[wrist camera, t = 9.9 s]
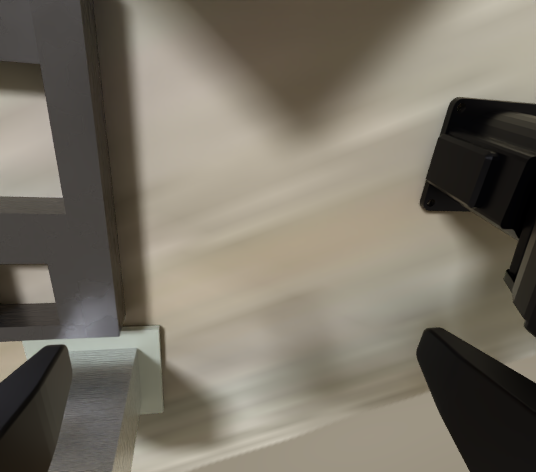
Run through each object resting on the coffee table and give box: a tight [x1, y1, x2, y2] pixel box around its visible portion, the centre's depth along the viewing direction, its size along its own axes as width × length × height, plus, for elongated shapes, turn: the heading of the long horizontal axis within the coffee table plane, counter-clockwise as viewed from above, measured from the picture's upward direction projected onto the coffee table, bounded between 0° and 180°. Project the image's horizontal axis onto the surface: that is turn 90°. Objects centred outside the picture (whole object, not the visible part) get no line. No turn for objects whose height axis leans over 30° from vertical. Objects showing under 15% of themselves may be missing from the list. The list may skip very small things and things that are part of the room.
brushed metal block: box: [48, 348, 142, 472], centre depth 21 cm, size 5×5×8 cm
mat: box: [22, 325, 164, 415], centre depth 25 cm, size 8×8×1 cm
